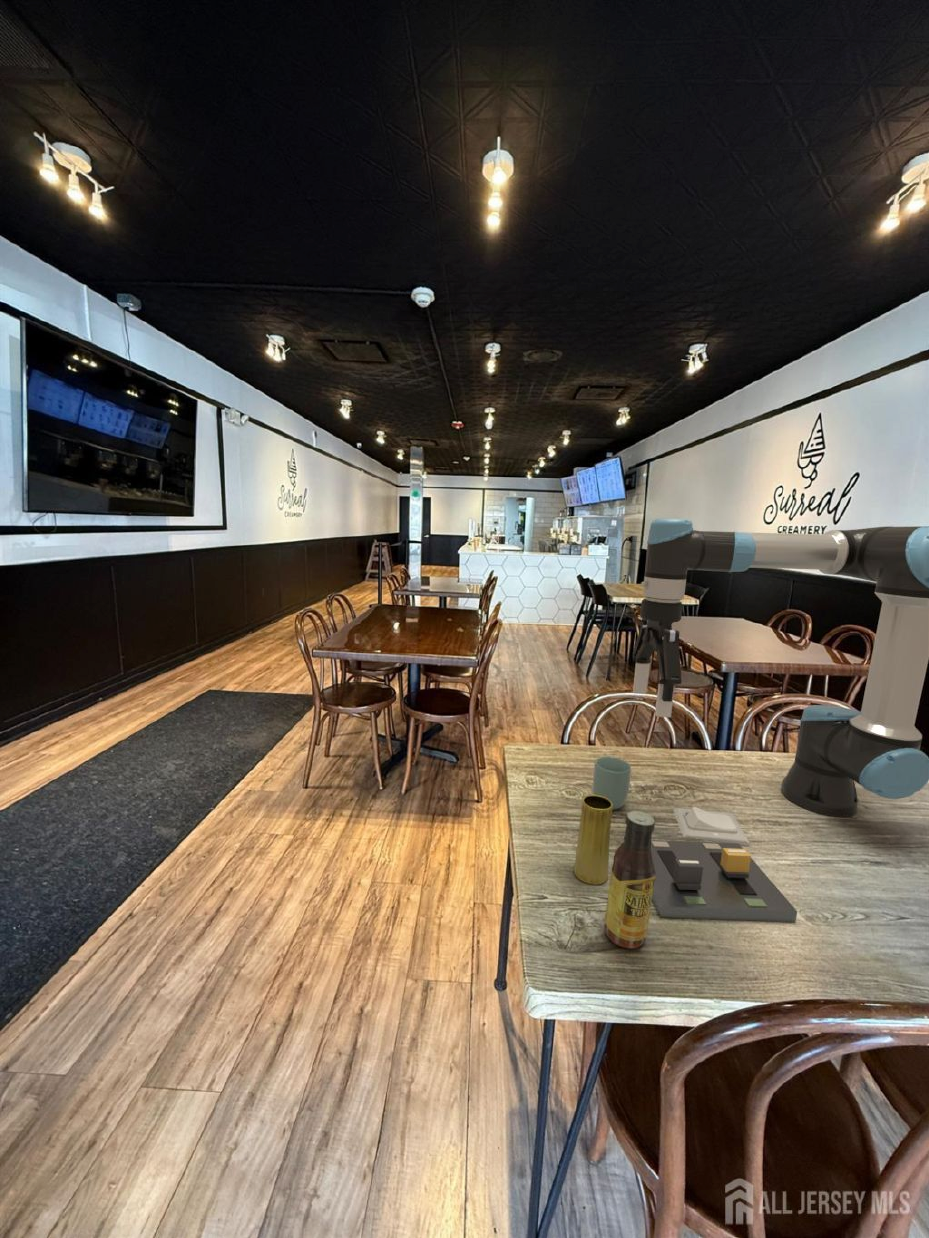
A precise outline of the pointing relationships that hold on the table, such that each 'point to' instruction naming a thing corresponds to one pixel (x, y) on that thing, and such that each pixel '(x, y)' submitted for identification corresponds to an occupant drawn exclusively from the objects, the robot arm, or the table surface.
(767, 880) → the breaker panel
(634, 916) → the sauce bottle
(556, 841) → the table surface
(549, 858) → the table surface
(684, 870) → the lever
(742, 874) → the lever
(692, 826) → the light switch
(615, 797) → the cup
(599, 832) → the vase
